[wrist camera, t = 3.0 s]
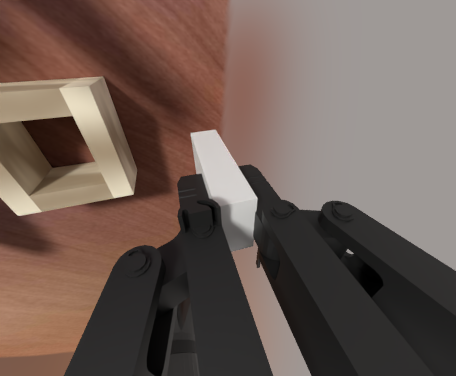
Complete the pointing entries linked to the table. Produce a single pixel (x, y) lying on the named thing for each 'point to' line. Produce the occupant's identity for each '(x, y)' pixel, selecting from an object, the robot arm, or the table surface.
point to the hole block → (67, 175)
